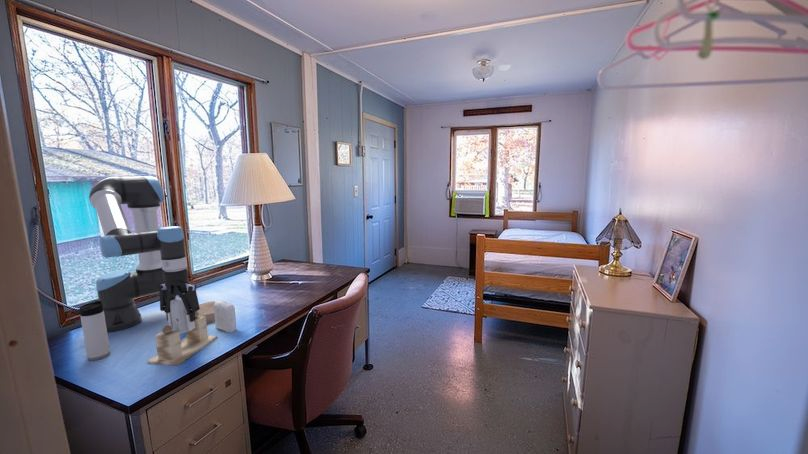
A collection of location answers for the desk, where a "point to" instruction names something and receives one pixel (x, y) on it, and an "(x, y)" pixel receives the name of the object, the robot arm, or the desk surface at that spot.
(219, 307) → the photo printer
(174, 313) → the skincare box
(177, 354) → the posts
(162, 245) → the robot arm
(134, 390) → the desk surface
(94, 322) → the travel mug
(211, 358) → the desk surface
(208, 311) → the brick
